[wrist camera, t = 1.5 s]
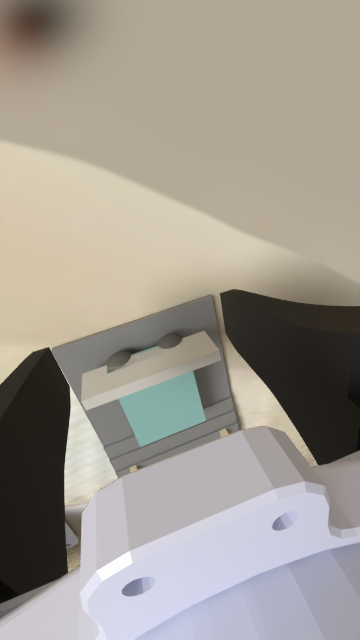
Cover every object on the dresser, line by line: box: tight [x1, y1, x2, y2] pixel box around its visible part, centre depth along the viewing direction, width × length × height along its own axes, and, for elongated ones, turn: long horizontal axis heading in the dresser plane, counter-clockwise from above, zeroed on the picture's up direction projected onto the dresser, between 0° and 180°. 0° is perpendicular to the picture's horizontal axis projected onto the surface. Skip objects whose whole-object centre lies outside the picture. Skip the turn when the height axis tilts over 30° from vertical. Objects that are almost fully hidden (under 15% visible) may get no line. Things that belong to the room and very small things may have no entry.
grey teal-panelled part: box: [81, 331, 221, 447], centre depth 21 cm, size 9×8×4 cm
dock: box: [52, 295, 239, 478], centre depth 25 cm, size 12×22×2 cm, turn 13°
